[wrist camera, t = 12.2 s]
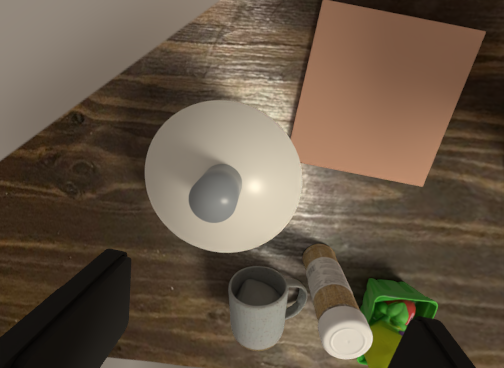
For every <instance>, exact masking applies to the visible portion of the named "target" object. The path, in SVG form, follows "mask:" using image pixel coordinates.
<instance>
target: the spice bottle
mask: <svg viewBox="0 0 504 368" xmlns="http://www.w3.org/2000/svg"><path fill="white" fill-rule="evenodd" d="M303 264H304V266H305V269H306V276H307V280H308V285H309V289H310V293H311V297H312V302H313V305H314V308H315V311H316V315H317V319H318V331H319V335H320V339H321V342H322V345H323V347H324V349H325V350H326V351H327V352H328V353H329V354H330V355H332V356H334V357H336V358H340V359H353V358H357V357H359V356H361V355H363V354H364V353H366V352H367V351H368V350H369V348H370V347H371V345H372V341H373V335H372V331H371V329H370V327H369V324H368V322H367V320H366V318H365V316H364V315H363V314H362V312H361V311H360V310H359V307H358V305H357V303H356V301H355V298H354V296H353V292H352V290H351V288H350V286H349V284H348V282H347V279H346V277H345V275H344V273H343V271H342V269H341V267H340V265H339V263H338V261H337V259H336V255H335V253H334V251H333V250H332V248H331V247H329V246H327V245H324V244H315V245H312V246H310V247H309V248H307V249H306V250H305V252H304V254H303Z"/></svg>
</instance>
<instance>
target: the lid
mask: <svg viewBox="0 0 504 368" xmlns="http://www.w3.org/2000/svg"><path fill="white" fill-rule="evenodd" d="M145 183H146V189H147V193H148V196H149V199H150V202H151V204H152V206H153V208H154V210H155V212H156V213H157V215H158V216H159V218H160V219H161V220H162V222H163V223H164V224H165V225H166V226H167V227H168V228H169V229H170V230H171V231H172V232H173V233H174V234H175V235H177V236H178V237H179V238H181V239H182V240H184V241H186V242H188V243H190V244H191V245H193V246H196V247H199V248H201V249H205V250H209V251H213V252H221V253H233V252H241V251H246V250H250V249H253V248H256V247H258V246H260V245H262V244H264V243H266V242H268V241H269V240H271V239H272V238H274V237H275V236H276V235H277V234H279V233H280V232H281V231H282V230H283V229H284V227H285V226H286V225H287V224H288V223H289V221H290V220H291V218H292V217H293V215H294V213H295V211H296V209H297V206H298V203H299V200H300V196H301V191H302V168H301V164H300V160H299V156H298V154H297V151H296V149H295V147H294V145H293V143H292V141H291V139H290V138H289V136H288V135H287V134H286V132H285V131H284V130H283V128H282V127H281V126H280V125H279V124H278V123H277V122H276V121H275V120H273V119H272V118H271V117H269V116H268V115H267V114H265V113H264V112H262V111H260V110H258V109H257V108H254V107H252V106H249V105H247V104H243V103H239V102H235V101H227V100H212V101H205V102H200V103H197V104H194V105H191V106H189V107H186V108H184V109H182V110H180V111H179V112H177V113H176V114H174V115H173V116H172V117H171V118H169V119H168V120H167V121H166V122H165V123H164V124H163V125H162V127H161V128H160V129H159V130H158V132H157V133H156V135H155V136H154V138H153V140H152V142H151V144H150V147H149V149H148V153H147V156H146V162H145Z"/></svg>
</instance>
